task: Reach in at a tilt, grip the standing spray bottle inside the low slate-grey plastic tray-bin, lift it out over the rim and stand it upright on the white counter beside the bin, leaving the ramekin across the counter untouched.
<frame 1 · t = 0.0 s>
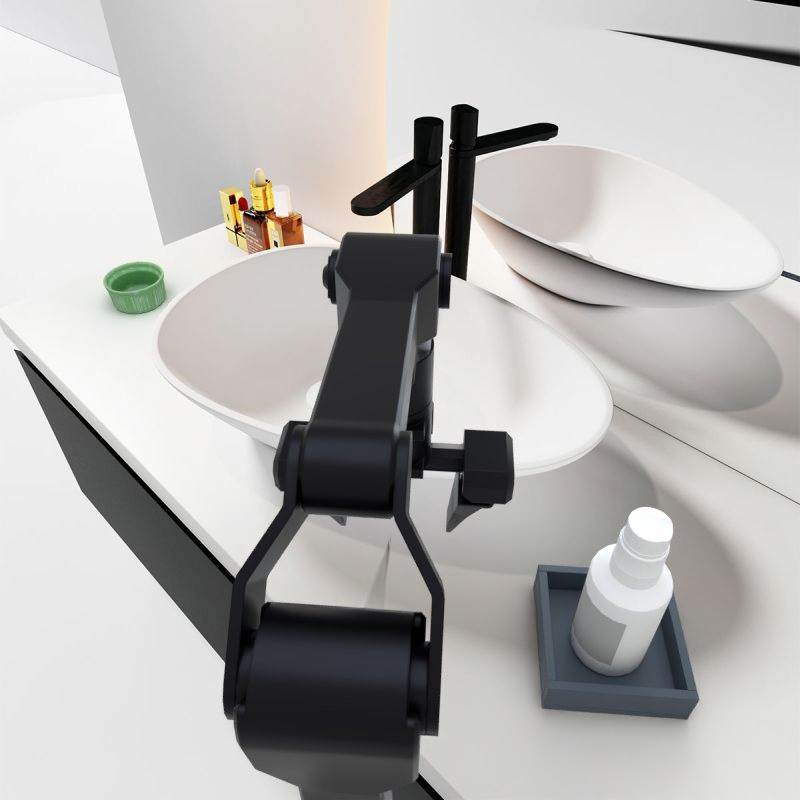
hand: (396, 524, 61), 12 cm above the worktop, tool pointing down, fingers open, 9 cm apart
ramekin: (140, 301, 110), on the worktop
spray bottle: (605, 644, 66), point 1 cm above the worktop, touching bin
bin: (604, 647, 66), on the worktop
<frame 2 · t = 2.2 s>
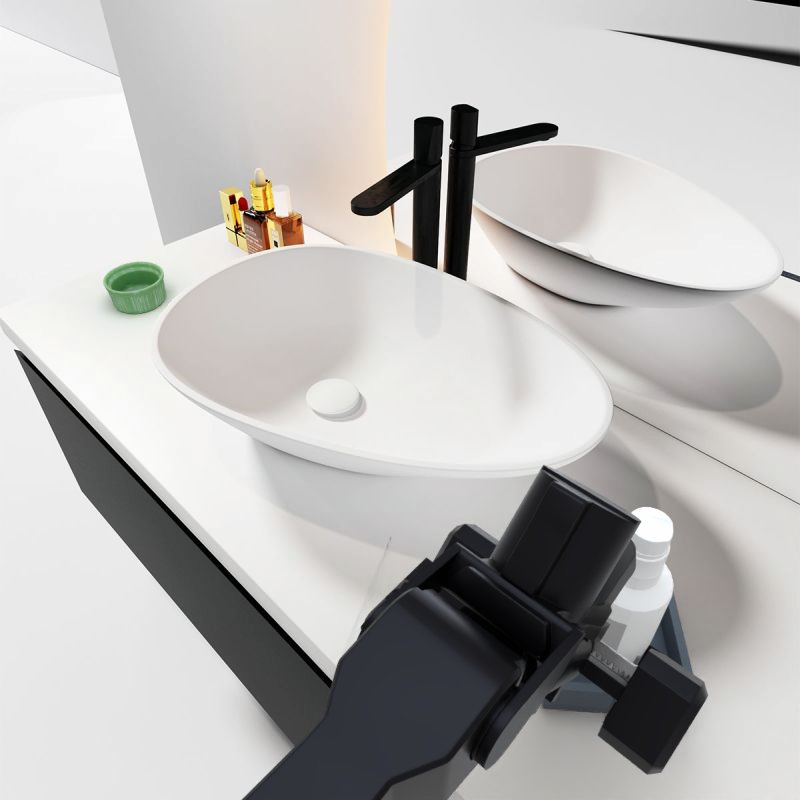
hand: (583, 624, 53), 13 cm above the worktop, tool tilted 45°, fingers open, 9 cm apart
nothing on the worktop moved.
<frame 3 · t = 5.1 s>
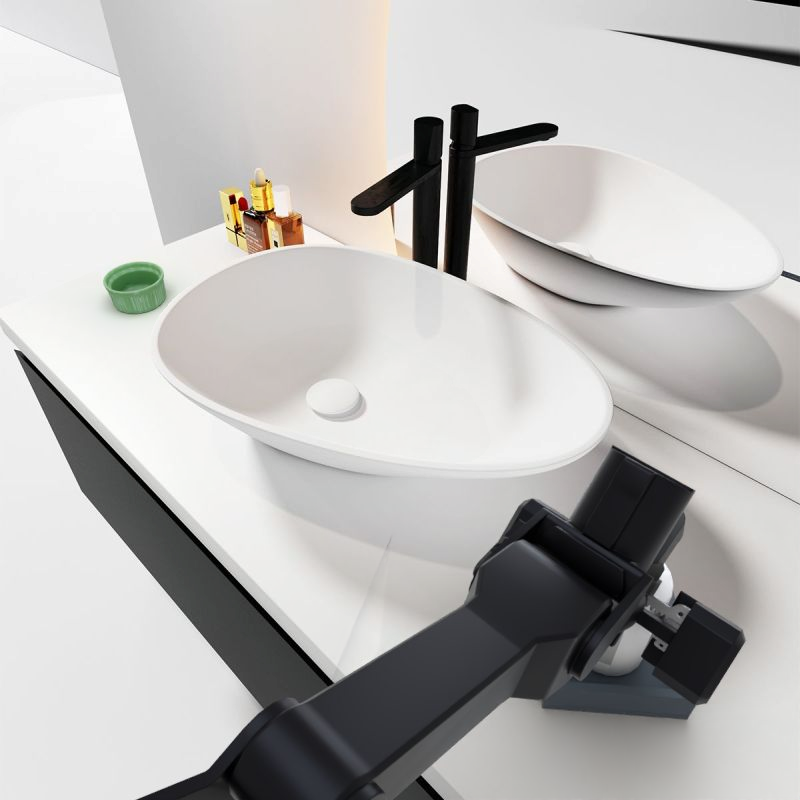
hand: (631, 587, 61), 9 cm above the worktop, tool tilted 45°, fingers closed on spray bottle, 7 cm apart
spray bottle: (605, 644, 66), point 1 cm above the worktop, touching bin, gripper
everything else where it was.
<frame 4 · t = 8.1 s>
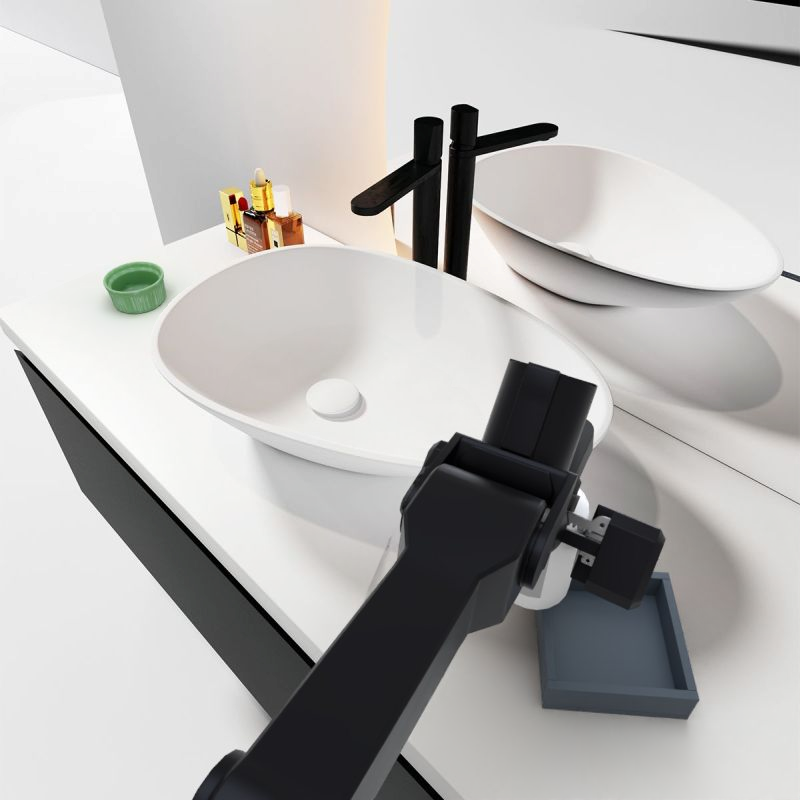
hand: (549, 516, 61), 13 cm above the worktop, tool tilted 45°, fingers closed on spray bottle, 7 cm apart
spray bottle: (531, 580, 65), point 5 cm above the worktop, touching gripper
everything else where it was.
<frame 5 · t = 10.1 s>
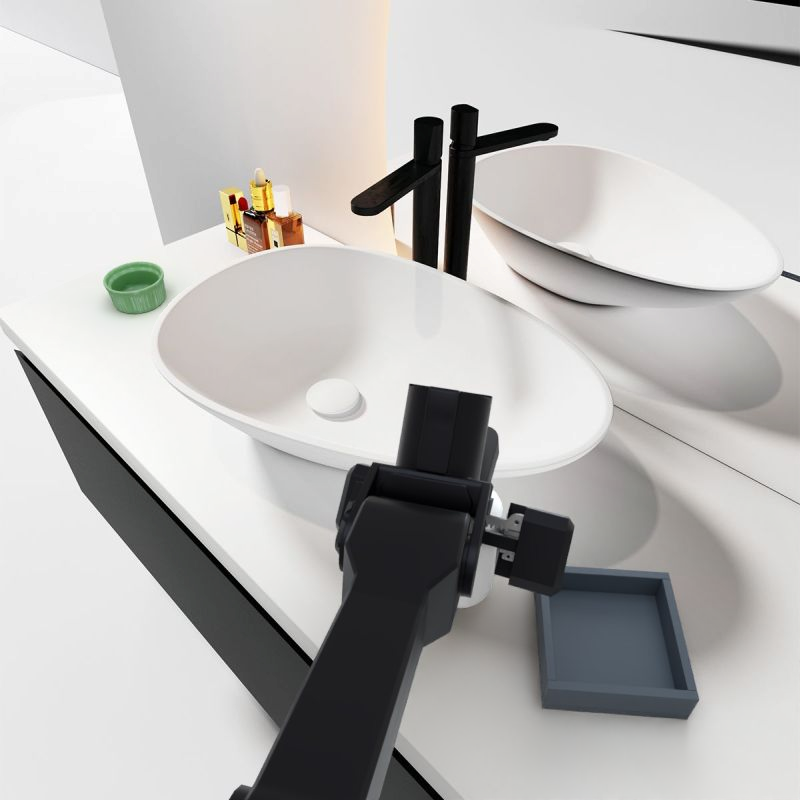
hand: (466, 518, 64), 10 cm above the worktop, tool tilted 45°, fingers closed on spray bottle, 7 cm apart
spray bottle: (457, 580, 69), point 2 cm above the worktop, touching gripper
everything else where it was.
when the fingers open (8 cm above the worktop, at t = 11.4 s): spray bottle stays where it is, on the worktop.
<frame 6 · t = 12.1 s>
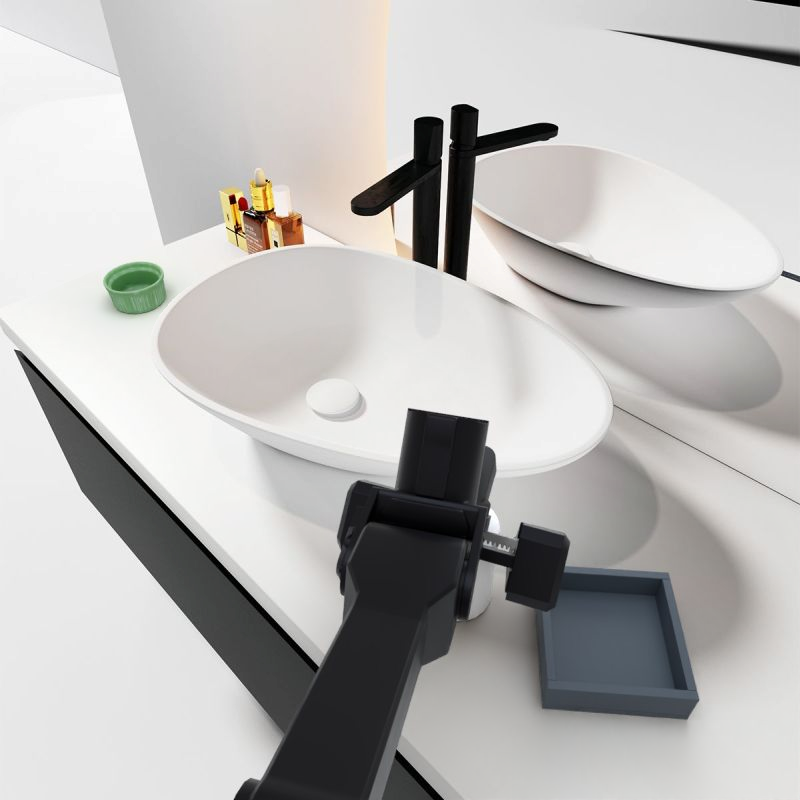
hand: (465, 531, 66), 8 cm above the worktop, tool tilted 45°, fingers open, 9 cm apart
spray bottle: (457, 593, 71), on the worktop
everything else where it was.
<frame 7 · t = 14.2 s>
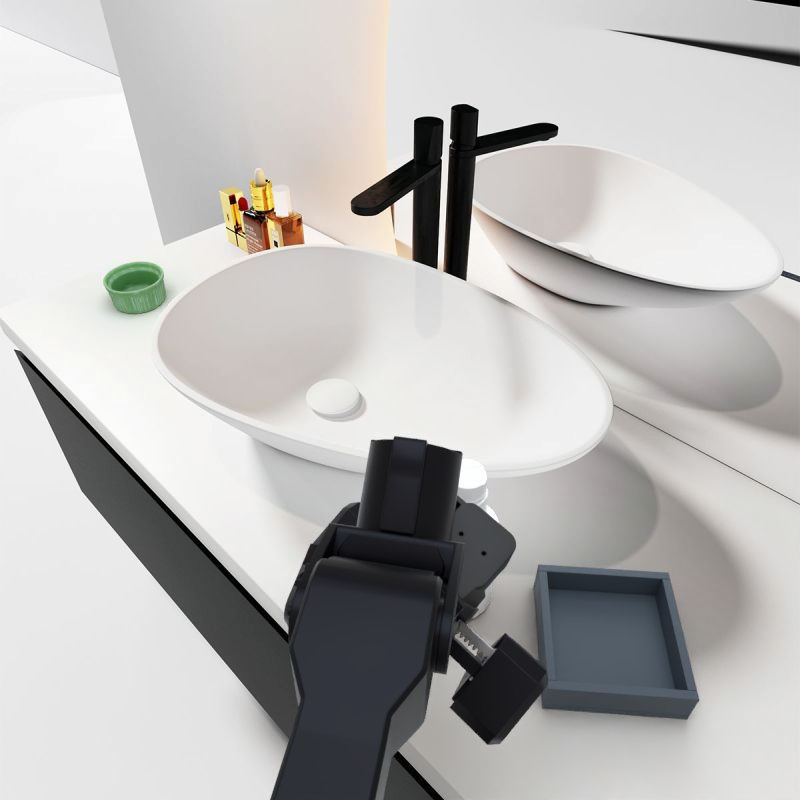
hand: (438, 613, 58), 10 cm above the worktop, tool tilted 35°, fingers open, 9 cm apart
nothing on the worktop moved.
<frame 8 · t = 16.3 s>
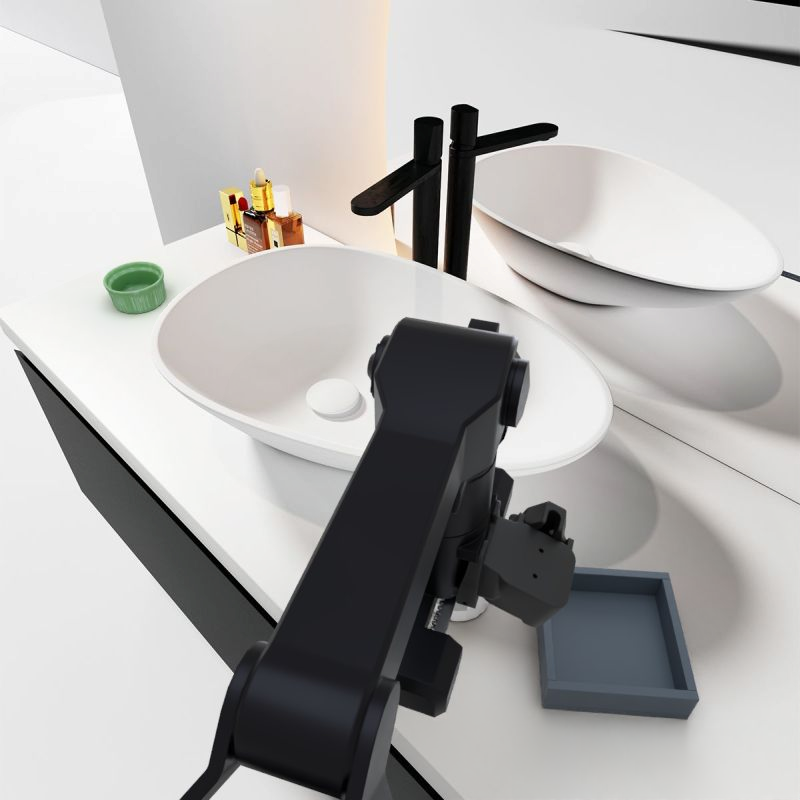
hand: (436, 632, 53), 13 cm above the worktop, tool pointing down, fingers open, 9 cm apart
nothing on the worktop moved.
at the end: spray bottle inside the target area (0.1 cm from its centre), on the worktop; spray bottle tilted 0°; ramekin moved 0.2 cm from its start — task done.
